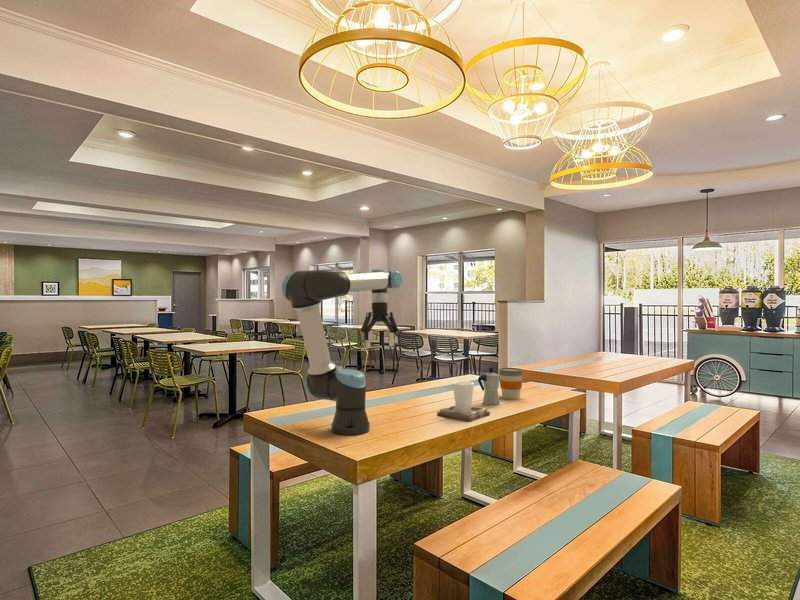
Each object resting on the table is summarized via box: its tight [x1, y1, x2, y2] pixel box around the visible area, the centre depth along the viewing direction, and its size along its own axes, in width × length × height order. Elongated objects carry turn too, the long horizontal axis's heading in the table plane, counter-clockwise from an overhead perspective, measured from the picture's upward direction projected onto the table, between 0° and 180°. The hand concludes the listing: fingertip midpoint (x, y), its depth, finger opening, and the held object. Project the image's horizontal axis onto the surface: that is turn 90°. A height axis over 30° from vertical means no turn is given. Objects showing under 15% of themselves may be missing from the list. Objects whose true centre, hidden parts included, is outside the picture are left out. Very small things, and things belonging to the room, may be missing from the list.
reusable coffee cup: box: [498, 367, 524, 400], centre depth 246 cm, size 13×13×15 cm
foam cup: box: [452, 380, 475, 413], centre depth 206 cm, size 10×9×13 cm
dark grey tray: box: [436, 405, 491, 423], centre depth 206 cm, size 17×17×3 cm
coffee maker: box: [477, 367, 500, 406], centre depth 230 cm, size 15×9×18 cm, turn 121°
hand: (380, 346), depth 217 cm, fingers open, 13 cm apart
